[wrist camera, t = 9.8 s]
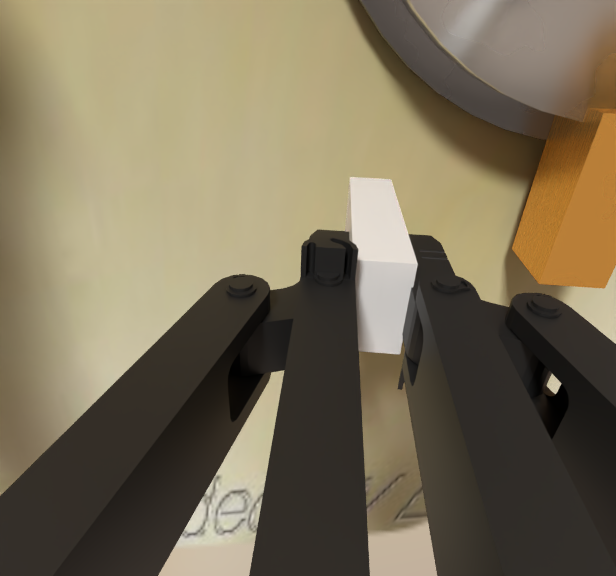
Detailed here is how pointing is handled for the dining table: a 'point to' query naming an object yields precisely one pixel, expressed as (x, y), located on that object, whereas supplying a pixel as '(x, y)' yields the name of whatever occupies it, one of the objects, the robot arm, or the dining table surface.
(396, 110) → the dining table surface
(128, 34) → the dining table surface
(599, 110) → the turntable
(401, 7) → the turntable base
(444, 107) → the dining table surface
